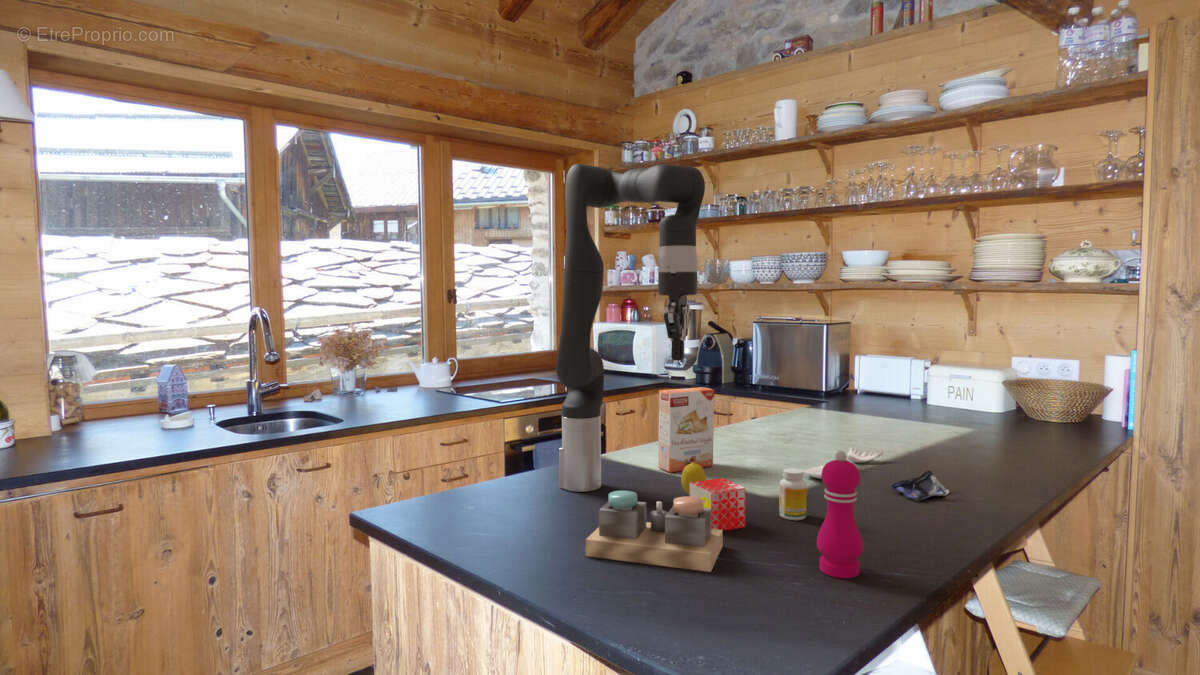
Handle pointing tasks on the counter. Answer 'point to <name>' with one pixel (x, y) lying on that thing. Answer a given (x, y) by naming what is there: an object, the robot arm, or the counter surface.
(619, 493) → the knob left
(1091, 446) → the counter surface
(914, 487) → the snack package
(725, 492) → the red patterned cube box
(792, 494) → the supplement bottle
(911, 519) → the counter surface
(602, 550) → the mount
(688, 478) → the lemon
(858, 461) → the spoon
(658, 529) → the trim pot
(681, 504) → the knob right
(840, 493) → the pepper mill
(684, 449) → the cracker box
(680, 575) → the counter surface
